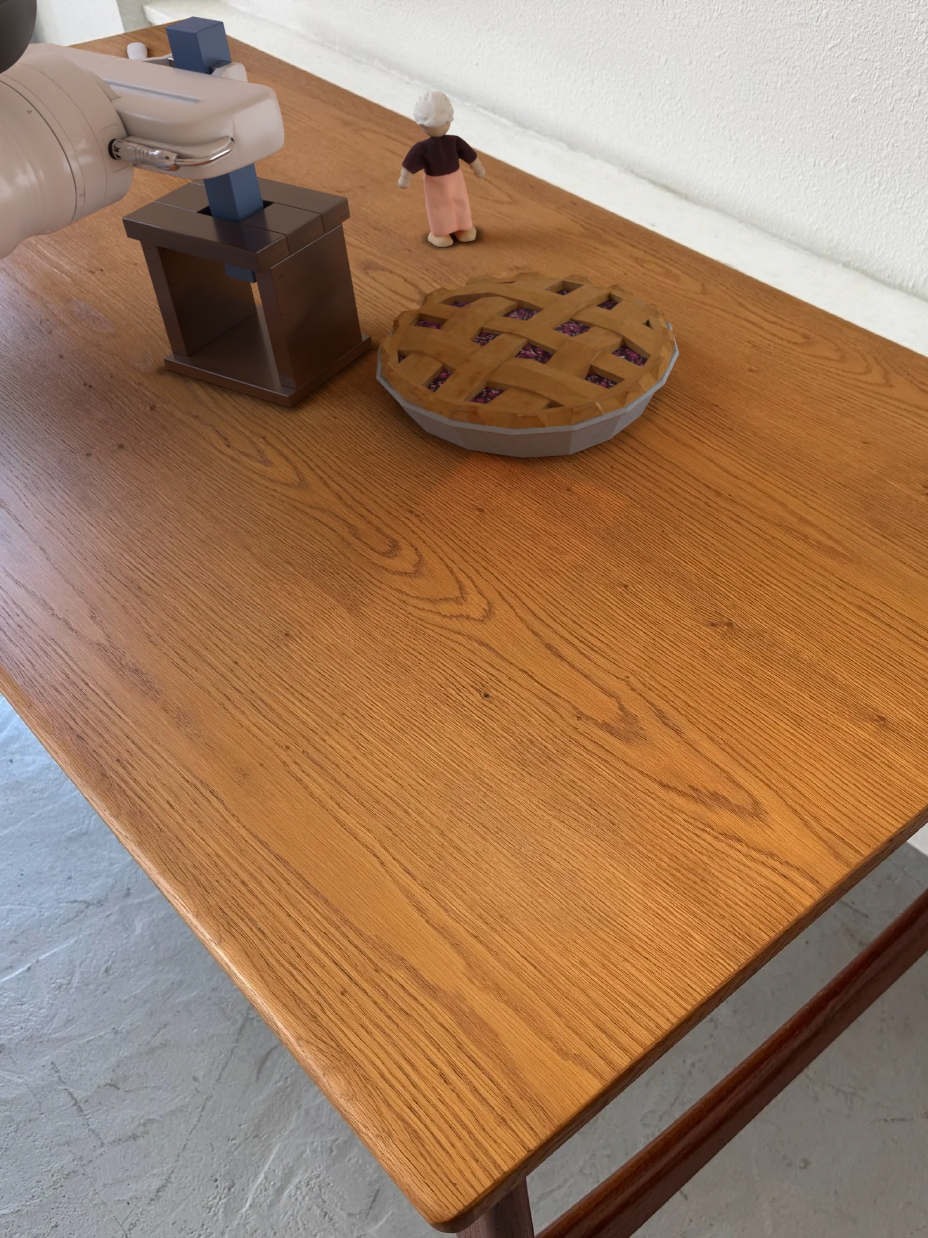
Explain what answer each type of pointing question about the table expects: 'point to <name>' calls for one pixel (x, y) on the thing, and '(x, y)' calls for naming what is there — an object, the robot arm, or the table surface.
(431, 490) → the table surface
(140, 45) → the butter knife
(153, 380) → the table surface
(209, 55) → the peg
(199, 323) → the stand
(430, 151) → the grandmother figurine
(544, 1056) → the table surface
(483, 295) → the pie
